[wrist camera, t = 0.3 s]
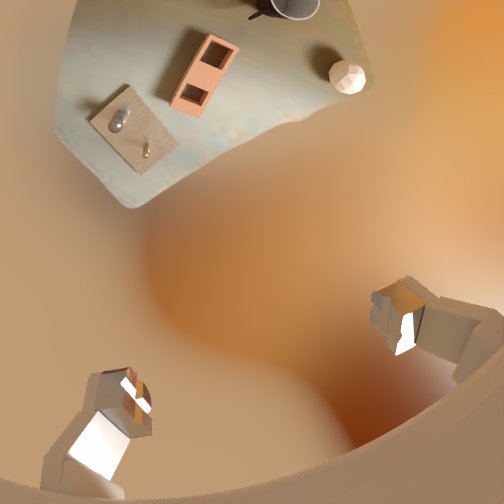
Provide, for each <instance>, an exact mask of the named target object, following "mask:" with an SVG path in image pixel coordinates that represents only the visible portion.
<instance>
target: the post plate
mask: <svg viewBox="0 0 504 504" xmlns="http://www.w3.org/2000/svg"><path fill="white" fill-rule="evenodd" d="M90 123H91V124H92V125H93V126H94V127H95V128H96V129H97V130H98V131H99V132H100V133H101V135H102V136H103V137H104V138H105V139H106V140H107V141H108V142H109V143H110V144H111V145H112V146H113V147H114V148H115V149H116V150H117V151H118V152H119V153H120V154H121V156H122V157H123V158H124V159H125V160H126V161H127V162H128V163H129V164H130V165H131V166H132V167H133V168H134V169H135V170H136V171H137V172H138V173H139V174H140V175H142V174H143V173H144V172H145V171H147V170H148V169H149V168H150V167H152V166H153V165H154V164H155V163H157V162H158V161H159V160H161V159H162V158H163V157H164V156H166V155H167V154H168V153H170V152H171V151H172V150H174V149H175V148H176V147H178V146H179V143H178V142H177V141H176V139H175V138H174V137H173V136H172V135H171V133H170V132H169V131H168V130H167V129H166V127H165V126H164V125H163V124H162V123H161V121H160V120H159V119H158V118H157V117H156V115H155V114H154V113H153V112H152V111H151V109H150V108H149V107H148V106H147V105H146V103H145V102H144V101H143V100H142V99H141V98H140V96H139V95H138V94H137V93H136V92H135V90H134V89H133V88H132V87H131V86H129V87H128V88H127V89H125V90H124V91H123V92H122V93H121V94H119V95H118V96H117V97H116V98H115V99H114V100H112V101H111V102H110V103H109V104H108V105H107V106H106V107H105V108H104V109H102V110H101V111H100V112H99V113H98V114H97V115H96V116H95V117H94V118H93V119H92V120H91V121H90Z"/></svg>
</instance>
